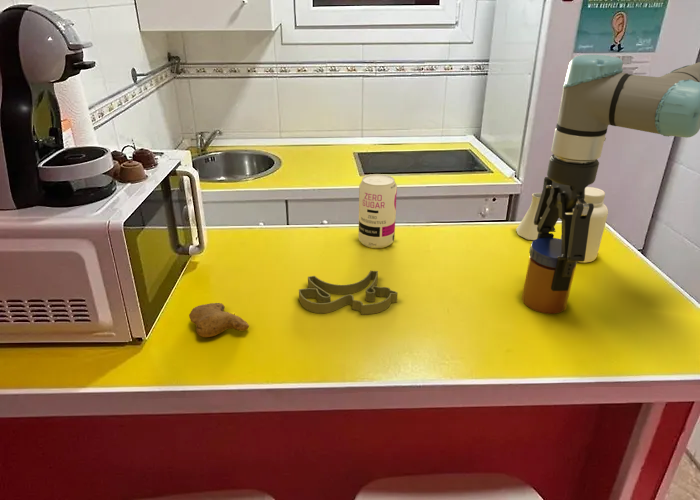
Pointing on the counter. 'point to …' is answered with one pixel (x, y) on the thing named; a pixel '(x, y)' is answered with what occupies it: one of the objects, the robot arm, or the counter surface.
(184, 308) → the counter surface
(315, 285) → the cookie cutter
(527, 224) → the flask
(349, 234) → the counter surface
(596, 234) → the pill bottle
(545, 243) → the jam lid
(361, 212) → the supplement can
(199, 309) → the brown irregular lump
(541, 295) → the jam jar
